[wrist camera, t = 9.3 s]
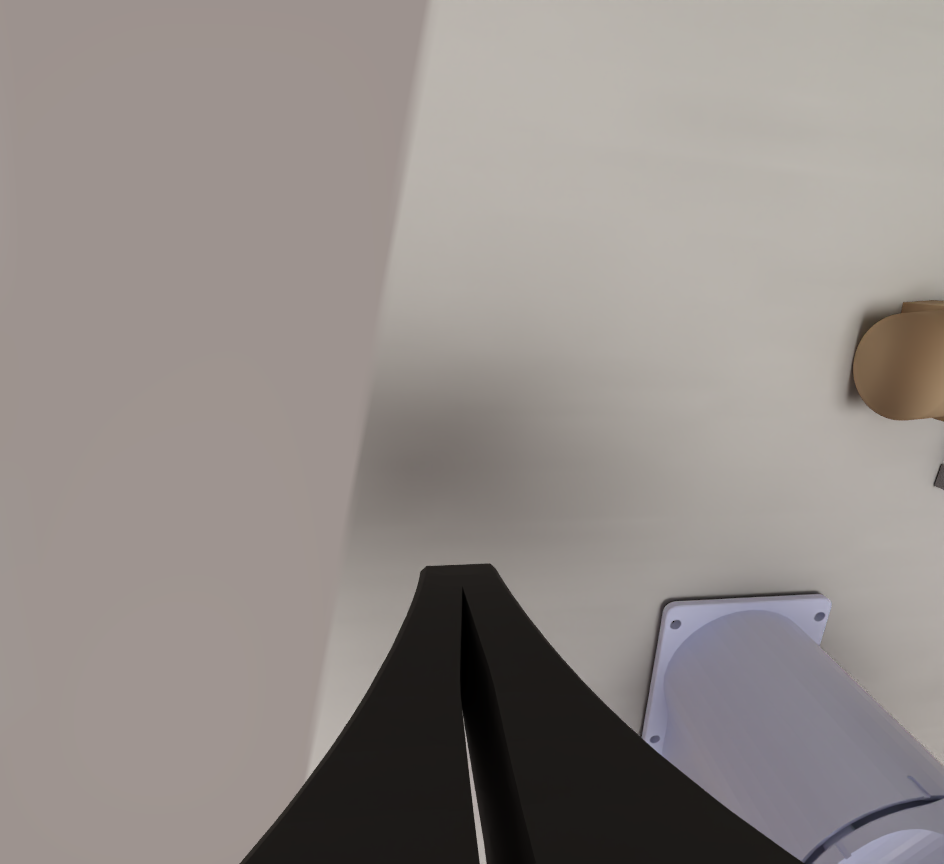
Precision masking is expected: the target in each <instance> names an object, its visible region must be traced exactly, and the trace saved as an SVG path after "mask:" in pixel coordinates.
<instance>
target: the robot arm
mask: <svg viewBox="0 0 944 864" xmlns="http://www.w3.org/2000/svg"><path fill="white" fill-rule="evenodd" d="M831 606H832V603H831V600H829V599H828V598H827V597H826V596H824V595H823V594H808V595H789V596H769V597H750V598H730V599H711V600H691V601H674V602H671V603H669V604H667V605H666V606H665V607H664V610H663V615H662V620H661V626H660V632H659V638H658V644H657V650H656V656H655V662H654V668H653V674H652V679H651V685H650V691H649V697H648V703H647V709H646V715H645V721H644V727H643V733H642V738H641V737H640V736H639V735H638V734H637V733H635V732H634V731H633V730H632V729H631V728H630V727H629V726H628V725H627V724H626V723H625V722H623V721H622V720H621V719H620V718H619V717H618V716H617V715H616V714H615V713H614V712H613V711H612V710H611V709H610V708H609V707H608V706H607V705H606V704H605V703H604V702H603V701H602V700H601V699H600V698H599V697H598V696H597V695H596V694H595V693H594V692H593V691H592V690H591V689H590V688H589V687H588V686H587V685H586V684H585V683H584V682H583V681H582V680H581V679H580V678H579V676H578V675H577V674H576V673H575V672H574V671H573V670H572V669H571V668H570V666H569V665H568V664H567V663H566V662H565V661H564V660H563V659H562V658H561V656H560V655H559V654H558V653H557V652H556V651H555V649H554V648H553V647H552V646H551V645H550V643H549V642H548V641H547V640H546V638H545V637H544V636H543V635H542V633H541V632H540V631H539V630H538V628H537V627H536V626H535V625H534V623H533V622H532V621H531V620H530V618H529V617H528V616H527V614H526V613H525V612H524V610H523V609H522V608H521V606H520V605H519V603H518V602H517V601H516V599H515V598H514V596H513V595H512V594H511V592H510V591H509V589H508V588H507V586H506V585H505V583H504V582H503V580H502V578H501V577H500V575H499V573H498V572H497V570H496V568H494V567H493V566H492V565H491V564H467V565H444V566H426V567H425V568H424V569H423V570H422V571H421V572H420V578H419V582H418V586H417V589H416V592H415V595H414V598H413V601H412V603H411V606H410V608H409V611H408V613H407V616H406V618H405V620H404V622H403V624H402V626H401V629H400V631H399V633H398V635H397V637H396V639H395V641H394V644H393V646H392V648H391V650H390V651H389V653H388V655H387V657H386V659H385V661H384V662H383V664H382V666H381V668H380V670H379V671H378V673H377V675H376V677H375V679H374V681H373V682H372V684H371V686H370V688H369V689H368V691H367V693H366V694H365V696H364V698H363V699H362V701H361V703H360V704H359V706H358V707H357V709H356V711H355V712H354V714H353V715H352V717H351V718H350V720H349V721H348V723H347V724H346V726H345V727H344V729H343V730H342V732H341V733H340V735H339V736H338V738H337V739H336V741H335V742H334V744H333V745H332V747H331V748H330V750H329V751H328V752H327V754H326V755H325V756H324V758H323V759H322V761H321V762H320V763H319V765H318V766H317V767H316V769H315V770H314V771H313V773H312V774H311V776H310V777H309V778H308V780H307V781H306V782H305V784H304V785H303V787H302V788H301V789H300V791H299V792H298V793H297V794H296V796H295V797H294V798H293V800H292V801H291V802H290V804H289V805H288V806H287V807H286V809H285V810H284V811H283V813H282V814H281V815H280V816H279V817H278V819H277V820H276V821H275V823H274V824H273V825H272V826H271V827H270V829H269V830H268V831H267V832H266V833H265V834H264V835H263V837H262V838H261V839H260V840H259V841H258V843H257V844H256V845H255V846H254V847H253V849H252V850H251V851H250V852H249V853H248V855H247V856H246V857H245V858H244V859H243V860H242V862H241V863H240V864H480V863H479V854H478V846H477V838H476V830H475V822H474V813H473V805H472V796H471V787H470V778H469V769H468V760H467V751H466V742H465V732H464V724H465V730H466V736H467V742H468V748H469V754H470V761H471V767H472V773H473V779H474V785H475V791H476V797H477V803H478V809H479V815H480V821H481V827H482V833H483V839H484V846H485V854H486V862H487V864H944V766H943V765H942V764H941V763H940V762H939V761H938V760H937V759H936V758H935V757H934V756H933V755H932V754H931V753H930V752H929V751H928V750H927V749H926V748H925V747H924V746H922V745H921V744H920V743H919V742H918V741H917V740H916V739H915V738H914V737H913V736H912V735H911V734H910V733H909V732H908V731H907V730H906V729H905V728H904V727H903V726H902V725H901V724H900V723H899V722H898V721H897V720H896V719H894V718H893V717H892V716H891V715H890V714H889V713H888V712H887V711H886V710H885V709H884V708H883V707H882V706H881V705H880V704H879V703H878V702H877V701H876V700H875V699H874V698H873V697H872V696H871V695H870V694H869V693H868V692H866V691H865V690H864V689H863V688H862V687H861V686H860V685H859V684H858V683H857V682H856V681H855V680H854V679H853V678H852V677H851V676H850V675H849V674H848V673H847V672H846V671H845V670H844V669H843V668H842V667H841V666H839V665H838V664H837V663H836V662H835V661H834V660H833V659H832V658H831V657H830V656H829V655H828V654H827V653H826V652H825V651H824V650H823V649H822V648H821V647H820V643H821V640H822V636H823V633H824V630H825V626H826V623H827V620H828V617H829V613H830V610H831ZM674 620H676V621H675V622H674V623H671V622H673V621H674ZM462 711H463V713H462ZM463 718H464V723H463Z"/></svg>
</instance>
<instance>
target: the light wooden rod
mask: <svg viewBox="0 0 944 864" xmlns="http://www.w3.org/2000/svg"><path fill="white" fill-rule="evenodd" d="M853 375H854V381H855V385H856V388H857V390H858V393H859V395H860V396H861V398H862V400H863V401H864V402H865V403H866V405H867V406H868V407H869V408H870V409H872V410H873V411H874V412H876V413H877V414H879V415H881V416H883V417H886V418H889V419H893V420H914V419H925V418H934V419H937V420H941V421H944V301H936V300H929V301H916V302H903V306H902V310H901V313H900V314H895V315H891V316H888V317H886V318H884V319H882V320H880V321H879V322H877V323H876V324H874V325H873V326H872V327H871V328H870V329H869V330H868V331H867V332H866V334H865V335H864V336H863V338H862V339H861V341H860V343H859V345H858V347H857V350H856V353H855V357H854V363H853Z"/></svg>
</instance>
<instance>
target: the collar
mask: <svg viewBox="0 0 944 864" xmlns="http://www.w3.org/2000/svg"><path fill="white" fill-rule="evenodd" d="M934 486H936V487H939V488H941V489H943V490H944V465H941V468H940V471H939V474H938V477H937V479H936V482H935V485H934Z"/></svg>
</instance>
